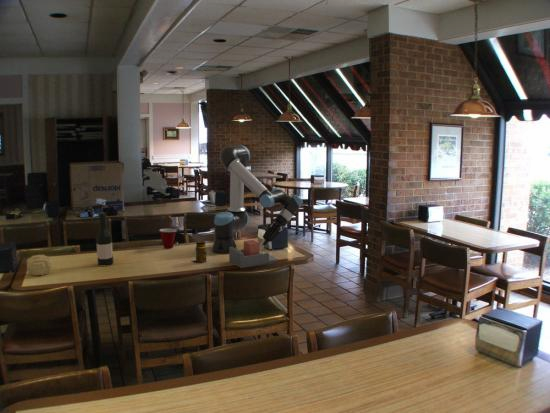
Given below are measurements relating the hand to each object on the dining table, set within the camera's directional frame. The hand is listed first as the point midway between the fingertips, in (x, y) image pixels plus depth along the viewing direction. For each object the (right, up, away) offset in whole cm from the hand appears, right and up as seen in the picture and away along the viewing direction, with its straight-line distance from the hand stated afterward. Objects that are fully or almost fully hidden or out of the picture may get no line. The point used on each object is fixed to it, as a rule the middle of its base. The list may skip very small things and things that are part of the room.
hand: (259, 249), depth 280 cm
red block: (-4, -6, -1) cm, 7 cm away
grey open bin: (-3, -7, 0) cm, 8 cm away
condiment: (-34, -8, -1) cm, 35 cm away
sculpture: (-117, -12, -22) cm, 119 cm away
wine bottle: (-87, -8, -5) cm, 88 cm away
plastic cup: (-59, -2, +29) cm, 65 cm away
